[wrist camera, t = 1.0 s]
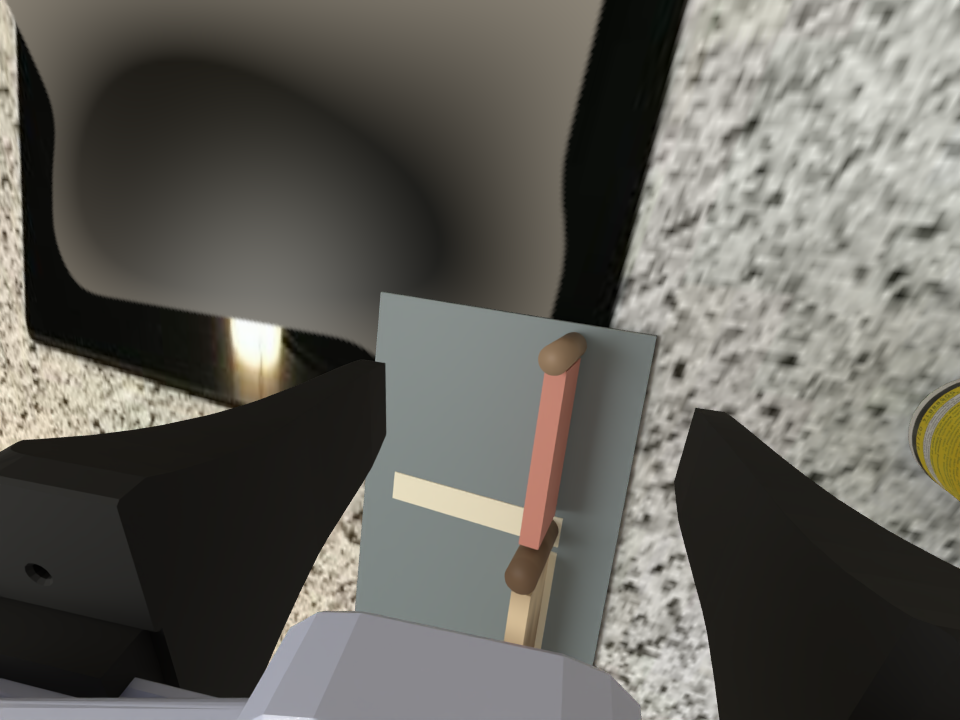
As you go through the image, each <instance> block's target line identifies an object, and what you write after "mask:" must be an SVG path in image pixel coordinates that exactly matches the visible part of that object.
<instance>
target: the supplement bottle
mask: <svg viewBox="0 0 960 720" xmlns="http://www.w3.org/2000/svg"><path fill="white" fill-rule="evenodd" d="M908 438H909V445H910V448H911V451H912V454H913V456H914V458H915V460H916V462H917V463H918V465H919V466H920V467H921V469H922V470H923V471H924V472H925V473H926V474H927V475H928V476H929V477H930V478H931V479H932V480H933V481H935V482H936V483H937V484H939V485H940V486H941V487H942V488H944V489H945V490H946V491H948V492H949V493H950V494H951V495H953V496H954V497H955V498H956V499H958V500H959V501H960V379H958V380H955V381H952V382H950V383H948V384H946V385H943V386H942V387H940V388H938V389H937V390H935V391H934V392H932V393H931V394H929V395H928V396H927V397H926V398H925V399H924V400H923V401H922V402H921V403H920V405H919V406H918V407H917V409H916V410H915V412H914V414H913V416H912V419H911V422H910V425H909V433H908Z"/></svg>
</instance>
